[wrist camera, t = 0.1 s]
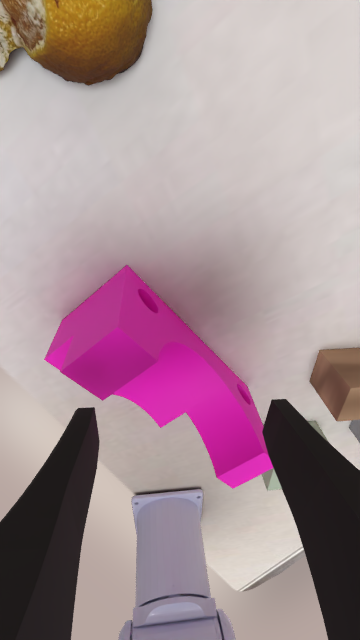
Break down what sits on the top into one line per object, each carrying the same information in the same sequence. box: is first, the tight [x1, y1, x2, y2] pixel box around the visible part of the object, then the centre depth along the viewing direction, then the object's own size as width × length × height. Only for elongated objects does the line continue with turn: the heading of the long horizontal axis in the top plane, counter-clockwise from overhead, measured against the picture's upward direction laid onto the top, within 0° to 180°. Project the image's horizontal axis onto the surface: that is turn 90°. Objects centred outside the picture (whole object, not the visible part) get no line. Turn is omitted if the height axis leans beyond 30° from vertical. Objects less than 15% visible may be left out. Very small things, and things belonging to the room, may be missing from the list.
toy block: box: [44, 265, 273, 488], centre depth 20 cm, size 15×6×8 cm, turn 39°
